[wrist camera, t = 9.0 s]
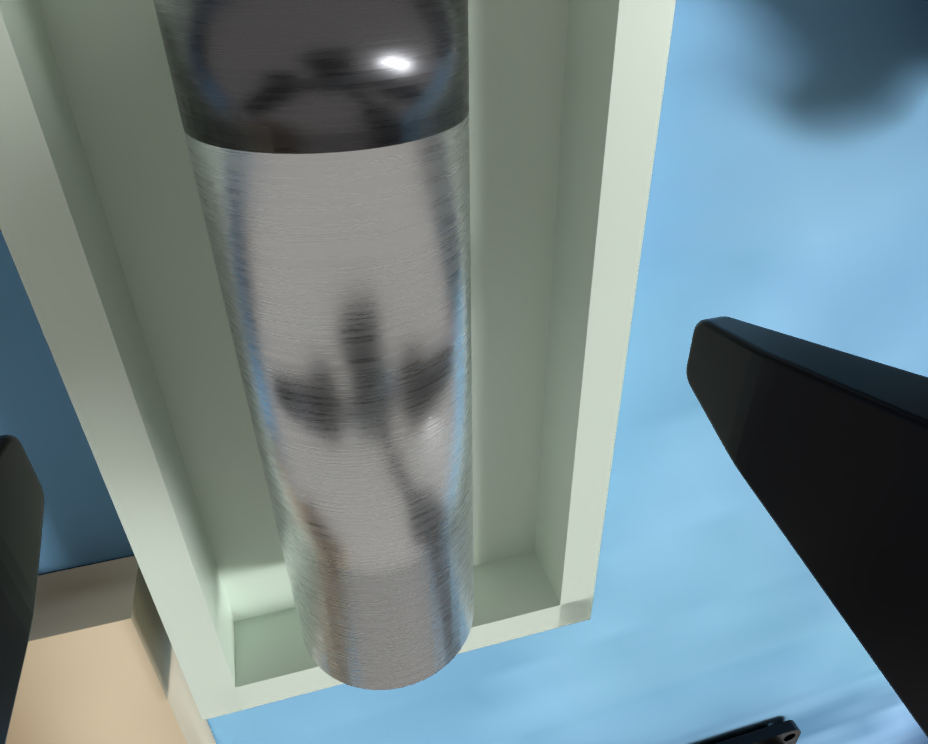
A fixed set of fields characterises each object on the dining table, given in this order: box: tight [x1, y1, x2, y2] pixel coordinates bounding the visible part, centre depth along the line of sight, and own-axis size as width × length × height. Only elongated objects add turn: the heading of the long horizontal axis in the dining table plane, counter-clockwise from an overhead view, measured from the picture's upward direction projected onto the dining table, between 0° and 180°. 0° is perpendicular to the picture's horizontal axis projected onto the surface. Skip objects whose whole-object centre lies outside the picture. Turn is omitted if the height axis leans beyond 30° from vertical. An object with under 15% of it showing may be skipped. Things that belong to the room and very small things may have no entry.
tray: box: [0, 0, 676, 720], centre depth 12 cm, size 9×16×2 cm, turn 1°
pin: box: [153, 0, 474, 690], centre depth 11 cm, size 3×11×3 cm, turn 1°
